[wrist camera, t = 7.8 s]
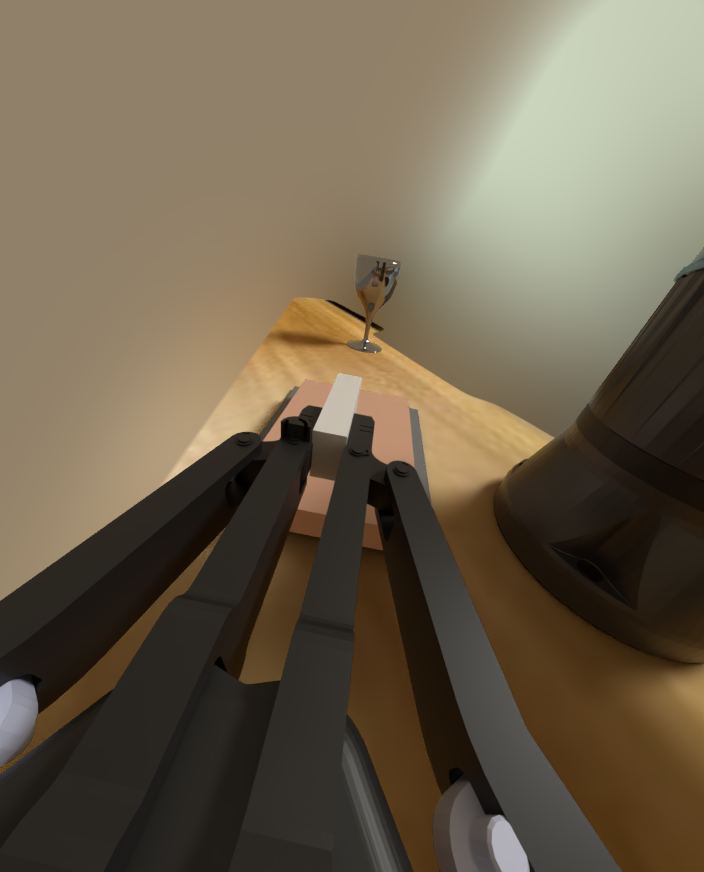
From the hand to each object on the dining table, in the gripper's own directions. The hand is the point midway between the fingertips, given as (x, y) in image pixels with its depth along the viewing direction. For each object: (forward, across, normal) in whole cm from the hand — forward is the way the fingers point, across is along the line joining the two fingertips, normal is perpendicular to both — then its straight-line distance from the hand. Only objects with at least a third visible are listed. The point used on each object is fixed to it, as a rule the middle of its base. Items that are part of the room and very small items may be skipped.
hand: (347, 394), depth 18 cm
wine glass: (+39, -1, -9) cm, 40 cm away
